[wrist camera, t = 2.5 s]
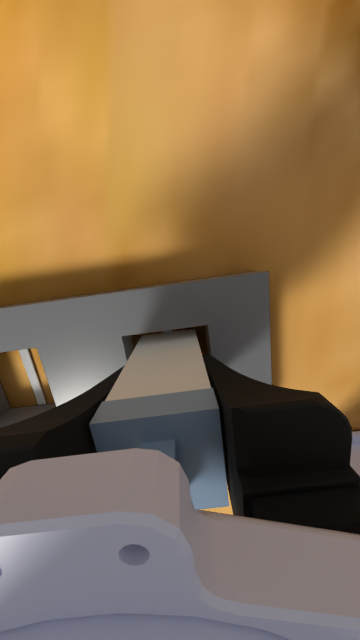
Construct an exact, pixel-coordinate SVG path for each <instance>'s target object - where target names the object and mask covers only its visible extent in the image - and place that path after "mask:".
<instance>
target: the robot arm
mask: <svg viewBox="0 0 360 640" xmlns="http://www.w3.org/2000/svg"><path fill="white" fill-rule="evenodd" d="M202 357H203V361H204V364H205V368H206V371H207V375H208V378H209V382H210V386H211V388H213V390H214V393H215V397H216V400H217V404H218V407H219V414H220V424H221V433H222V443H223V453H224V463H225V472H226V480H227V485H228V490H229V495H230V500H231V505H232V510H233V515H230V514H223V513H217V512H210V511H204V510H197V509H195V508H194V505H193V502H192V498H191V492H190V486H189V480H188V478H187V476H186V474H185V473H184V471H183V469H182V467H181V465H180V463H179V462H177V461H176V460H174V459H172V458H171V457H169V456H167V455H166V454H164V453H162V452H161V451H159V450H151V449H140V448H133V449H124V450H116V451H107V452H99V453H97V450H96V447H95V443H94V440H93V437H92V433H91V430H90V426H89V423H90V422H91V420H92V418H93V416H94V415H95V413H96V411H97V410H98V408H99V406H100V404H101V403H102V402H104V401H105V400H106V398H107V396H108V395H109V393H110V391H111V389H112V387H113V386H114V384H115V382H116V380H117V379H118V377H119V375H120V373H121V372H122V370H123V368H124V366H123V367H121V368H120V369H118V370H117V371H115V372H114V373H113V374H111V375H110V376H108V377H107V378H106V379H104V380H103V381H101V382H100V383H98V384H97V385H95V386H94V387H92V388H91V389H89V390H87V391H86V392H84V393H82V394H81V395H79V396H77V397H75V398H73V399H71V400H69V401H67V402H65V403H63V404H61V405H59V406H57V407H54V408H52V409H50V410H48V411H46V412H43V413H41V414H38V415H36V416H33V417H30V418H28V419H25V420H22V421H20V422H17V423H14V424H11V425H7V426H4V427H1V428H0V640H360V431H355V432H352V428H351V425H350V423H349V421H348V419H347V418H346V417H345V415H344V414H343V413H342V412H341V411H340V410H339V409H337V408H336V407H335V406H334V405H333V404H332V403H330V402H329V401H328V400H327V399H326V398H325V397H323V396H322V395H321V394H320V393H318V392H310V391H302V390H294V389H288V388H283V387H279V386H274V385H270V384H267V383H264V382H260V381H257V380H254V379H252V378H249V377H247V376H245V375H242V374H240V373H238V372H236V371H235V370H233V369H231V368H229V367H228V366H226V365H225V364H223V363H222V362H220V361H219V360H217V359H216V358H215V357H213V356H212V355H211V354H206V355H202Z"/></svg>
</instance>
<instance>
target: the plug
mask: <svg viewBox="0 0 360 640" xmlns="http://www.w3.org/2000/svg"><path fill="white" fill-rule="evenodd" d="M89 426H90V430H91V433H92V437H93V440H94V443H95V447H96V450H97V453H99V452H107V451H116V450H124V449H133V448H140V449H151V450H159V451H161V452H162V453H164V454H166V455H167V456H169V457H171V458H172V459H174V460H176V461H177V462H179V463H180V465H181V467H182V469H183V471H184V473H185V474H186V476H187V478H188V480H189V486H190V492H191V498H192V502H193V505H194V508H195V509H197V510H198V509H207V508H216V507H226V506H229V502H228V492H227V482H226V472H225V463H224V453H223V443H222V433H221V424H220V414H219V407H218V404H217V400H216V397H215V393H214V390H213V388H211V386H210V382H209V378H208V375H207V371H206V368H205V364H204V361H203V357H202V353H201V350H200V346H199V343H198V339H197V335H196V332H195V329H189V330H181V331H173V332H166V333H158V334H151V335H143V336H141V338H140V340H139V341H138V343H137V345H136V347H135V348H134V350H133V352H132V354H131V356H130V357H129V359H128V361H127V363H126V364H125V366H124V368H123V370H122V372H121V373H120V375H119V377H118V379H117V380H116V382H115V384H114V386H113V387H112V389H111V391H110V393H109V395H108V396H107V398H106V400H105V401H104V402H102V403H101V404H100V406H99V408H98V410H97V411H96V413H95V415H94V416H93V418H92V420H91V422H90V423H89Z"/></svg>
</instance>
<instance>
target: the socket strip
mask: <svg viewBox="0 0 360 640" xmlns="http://www.w3.org/2000/svg"><path fill="white" fill-rule="evenodd" d="M203 325H205V333H206V342H207V351H208V354H211V355H212V356H213V357H215V358H216V359H217V360H219V361H220V362H222V363H223V364H225V365H226V366H228V367H229V368H231V369H233V370H235V371H236V372H238V373H240V374H242V375H245V376H247V377H249V378H252V379H254V380H257V381H260V382H264V383H267V384H270V385H272V375H271V338H270V301H269V271H253V272H245V273H238V274H231V275H224V276H217V277H209V278H202V279H195V280H188V281H181V282H173V283H166V284H159V285H152V286H145V287H137V288H130V289H123V290H116V291H109V292H101V293H94V294H87V295H80V296H73V297H65V298H58V299H51V300H44V301H37V302H29V303H22V304H15V305H8V306H1V307H0V352H8V351H15V350H19V353H20V355H21V358H22V361H23V364H24V367H25V369H26V372H27V375H28V378H29V381H30V383H31V386H32V389H33V392H34V395H35V397H36V400H37V403H38V405H34V406H26V407H18V408H10V405H9V403H8V400H7V398H6V395H5V393H4V390H3V388H2V385H1V383H0V428H1V427H4V426H7V425H11V424H14V423H17V422H20V421H22V420H25V419H28V418H30V417H33V416H36V415H38V414H41V413H43V412H46V411H48V410H50V409H52V408H54V407H57V406H59V405H61V404H63V403H65V402H67V401H69V400H71V399H73V398H75V397H77V396H79V395H81V394H82V393H84V392H86V391H87V390H89V389H91V388H92V387H94V386H95V385H97V384H98V383H100V382H101V381H103V380H104V379H106V378H107V377H108V376H110V375H111V374H113V373H114V372H115V371H117V370H118V369H120V368H121V367H123V366H125V364H126V363H127V361H128V359H129V357H130V356H131V354H132V352H133V350H134V345H133V340H132V335H136V334H143V333H151V332H158V331H163V332H164V333H166V332H173V331H172V330H173V329H181V328H188V327H196V326H203ZM30 348H37V350H38V353H39V356H40V359H41V362H42V365H43V368H44V371H45V374H46V377H47V380H48V383H49V386H50V389H51V392H52V395H53V398H54V401H55V403H50V404H46V403H47V402H46V399H45V396H44V393H43V390H42V387H41V384H40V381H39V378H38V375H37V372H36V370H35V367H34V364H33V361H32V358H31V355H30V352H29V349H30ZM39 404H42V405H39Z"/></svg>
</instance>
